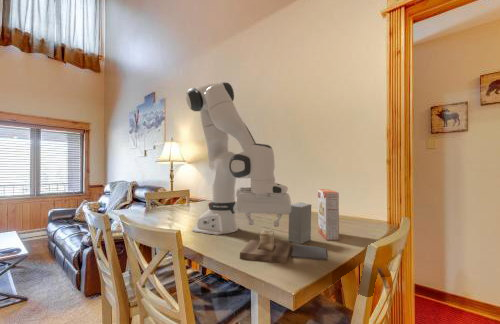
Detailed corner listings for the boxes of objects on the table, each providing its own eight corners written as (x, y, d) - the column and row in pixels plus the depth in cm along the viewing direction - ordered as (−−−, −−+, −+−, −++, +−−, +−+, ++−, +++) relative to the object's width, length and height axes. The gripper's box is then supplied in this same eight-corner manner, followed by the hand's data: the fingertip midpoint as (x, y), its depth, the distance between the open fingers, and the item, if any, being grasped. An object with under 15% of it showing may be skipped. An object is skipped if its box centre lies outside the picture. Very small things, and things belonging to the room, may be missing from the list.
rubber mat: (291, 256, 87) (291, 255, 87) (293, 246, 99) (293, 244, 99) (327, 260, 84) (327, 258, 84) (325, 248, 96) (325, 247, 96)
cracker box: (317, 232, 121) (317, 189, 121) (330, 232, 120) (329, 189, 121) (325, 240, 107) (325, 191, 107) (339, 240, 106) (339, 191, 107)
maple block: (259, 254, 89) (259, 233, 90) (262, 250, 94) (262, 230, 94) (272, 255, 88) (272, 234, 88) (274, 251, 93) (274, 231, 93)
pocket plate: (239, 258, 85) (239, 252, 85) (251, 244, 101) (251, 239, 101) (286, 263, 81) (286, 256, 81) (290, 247, 97) (290, 242, 97)
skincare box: (298, 237, 111) (298, 202, 112) (312, 240, 106) (312, 203, 107) (287, 241, 105) (287, 203, 106) (301, 245, 100) (301, 205, 101)
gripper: (233, 188, 91) (233, 226, 91) (289, 188, 85) (290, 229, 84) (239, 186, 97) (239, 222, 97) (291, 187, 91) (292, 224, 90)
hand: (263, 225), depth 90 cm, fingers open, 8 cm apart
